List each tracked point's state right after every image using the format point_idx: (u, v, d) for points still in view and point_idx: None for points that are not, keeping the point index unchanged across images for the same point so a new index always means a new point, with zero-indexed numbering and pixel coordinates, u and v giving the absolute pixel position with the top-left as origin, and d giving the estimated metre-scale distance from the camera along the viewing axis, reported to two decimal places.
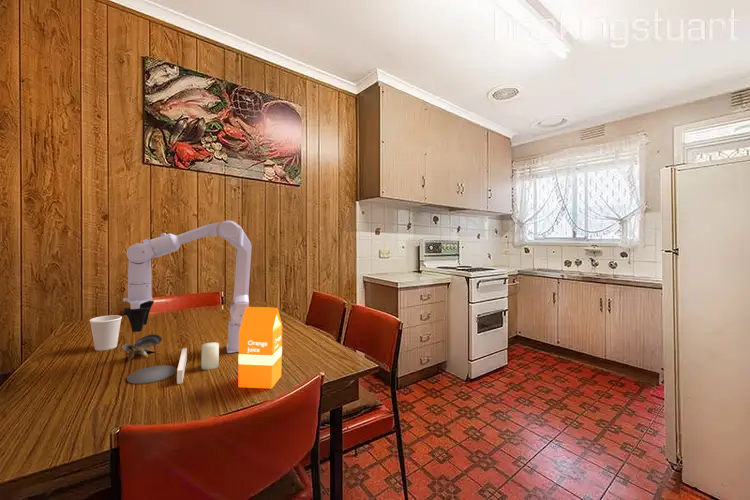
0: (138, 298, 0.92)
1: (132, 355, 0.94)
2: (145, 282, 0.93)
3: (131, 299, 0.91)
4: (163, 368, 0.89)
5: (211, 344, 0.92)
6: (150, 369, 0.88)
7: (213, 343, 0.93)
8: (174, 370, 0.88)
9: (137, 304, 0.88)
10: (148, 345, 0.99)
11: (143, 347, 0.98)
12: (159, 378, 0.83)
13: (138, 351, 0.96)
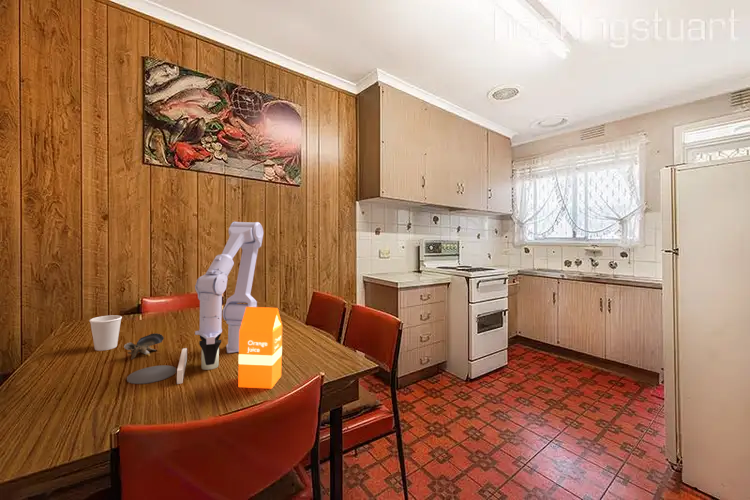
0: (211, 331, 0.89)
1: (134, 354, 0.95)
2: None
3: (204, 333, 0.89)
4: (163, 368, 0.89)
5: None
6: (150, 369, 0.88)
7: None
8: (174, 370, 0.88)
9: (213, 339, 0.86)
10: (150, 344, 1.00)
11: (145, 346, 0.99)
12: (159, 378, 0.83)
13: (140, 350, 0.98)
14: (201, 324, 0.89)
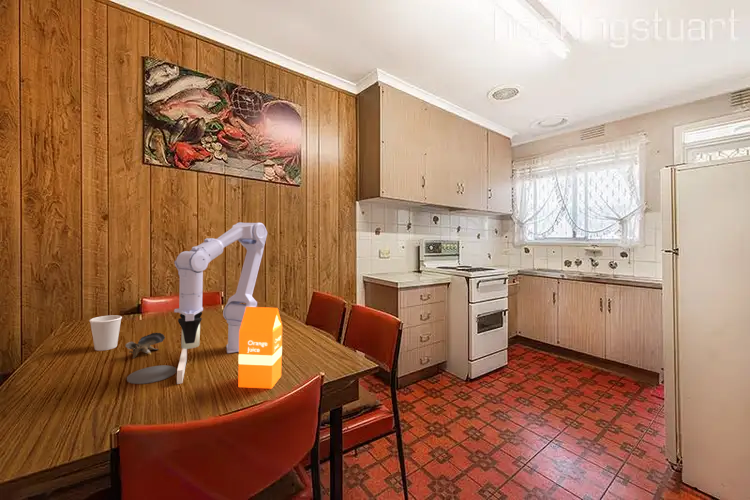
0: (190, 309, 0.87)
1: (136, 353, 0.96)
2: (202, 291, 0.90)
3: (183, 310, 0.86)
4: (163, 368, 0.89)
5: None
6: (150, 369, 0.88)
7: None
8: (174, 370, 0.88)
9: (192, 316, 0.83)
10: (151, 343, 1.01)
11: (146, 345, 1.00)
12: (159, 378, 0.83)
13: (141, 349, 0.98)
14: (181, 301, 0.87)
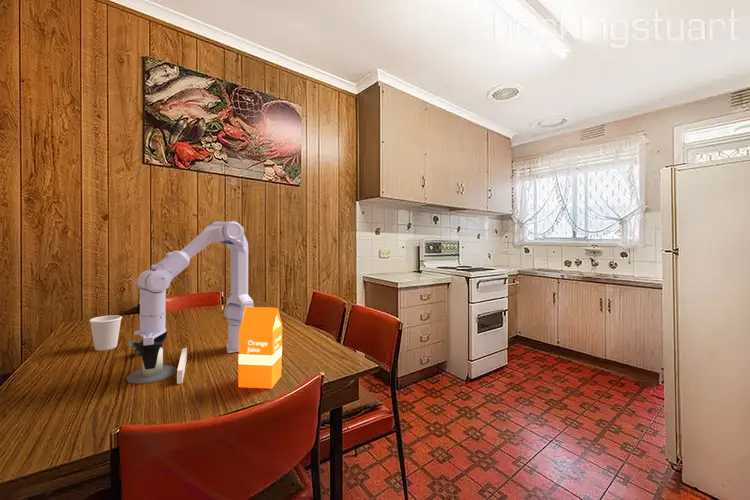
0: (151, 331, 0.83)
1: (138, 351, 0.97)
2: (163, 312, 0.85)
3: (143, 333, 0.82)
4: (163, 368, 0.89)
5: None
6: None
7: None
8: (174, 370, 0.88)
9: (151, 339, 0.79)
10: None
11: None
12: (159, 378, 0.83)
13: None
14: (141, 323, 0.83)
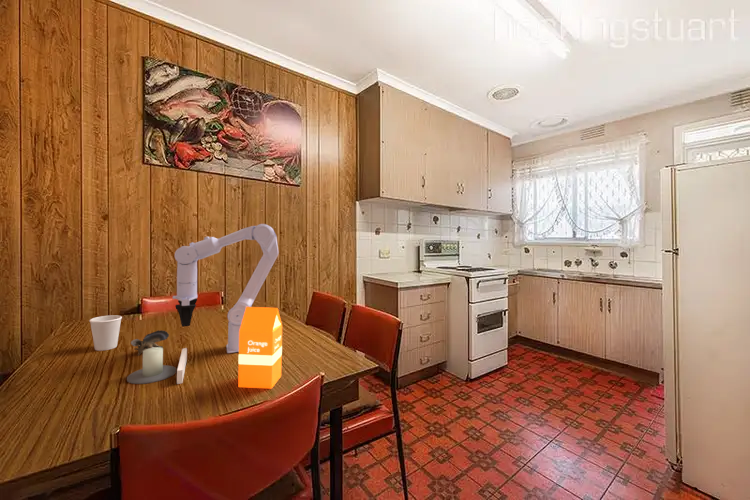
0: (186, 296, 1.01)
1: (141, 350, 0.99)
2: (190, 281, 1.01)
3: (180, 297, 1.00)
4: (163, 368, 0.89)
5: (154, 349, 0.86)
6: None
7: (157, 348, 0.87)
8: (174, 370, 0.88)
9: (187, 301, 0.97)
10: (156, 340, 1.04)
11: (151, 342, 1.02)
12: (159, 378, 0.83)
13: (146, 346, 1.01)
14: (178, 289, 1.01)
